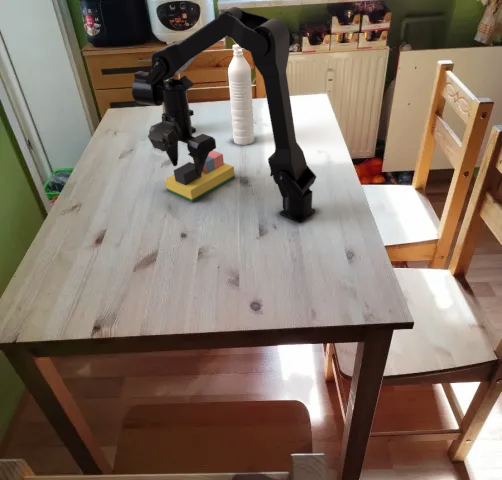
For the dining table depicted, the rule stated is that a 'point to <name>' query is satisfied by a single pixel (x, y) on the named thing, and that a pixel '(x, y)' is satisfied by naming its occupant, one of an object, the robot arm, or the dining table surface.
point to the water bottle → (241, 98)
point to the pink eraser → (213, 161)
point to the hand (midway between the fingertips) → (187, 170)
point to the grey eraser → (186, 174)
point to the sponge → (201, 183)
